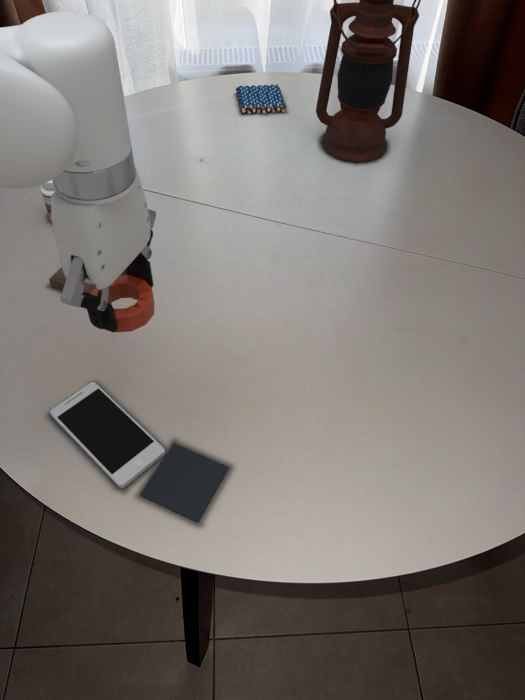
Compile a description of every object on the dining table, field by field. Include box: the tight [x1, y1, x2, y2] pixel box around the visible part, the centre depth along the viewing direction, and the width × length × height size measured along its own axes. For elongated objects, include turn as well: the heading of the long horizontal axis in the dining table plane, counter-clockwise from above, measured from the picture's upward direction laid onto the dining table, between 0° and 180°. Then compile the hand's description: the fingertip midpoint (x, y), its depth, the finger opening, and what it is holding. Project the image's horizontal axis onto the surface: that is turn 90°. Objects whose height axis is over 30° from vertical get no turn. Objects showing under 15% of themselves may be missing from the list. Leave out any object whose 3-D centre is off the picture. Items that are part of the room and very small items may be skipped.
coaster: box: [139, 442, 230, 523], centre depth 71 cm, size 8×8×1 cm
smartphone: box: [49, 381, 166, 489], centre depth 75 cm, size 7×15×1 cm, turn 46°
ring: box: [92, 274, 155, 333], centre depth 66 cm, size 7×7×2 cm
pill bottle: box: [40, 180, 55, 222], centre depth 101 cm, size 5×5×8 cm
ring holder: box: [48, 266, 127, 294], centre depth 92 cm, size 9×9×7 cm
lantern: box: [315, 0, 422, 164], centre depth 111 cm, size 17×14×30 cm
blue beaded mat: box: [235, 83, 287, 115], centre depth 132 cm, size 10×11×2 cm
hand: (123, 304), depth 66 cm, fingers closed on ring, 6 cm apart
